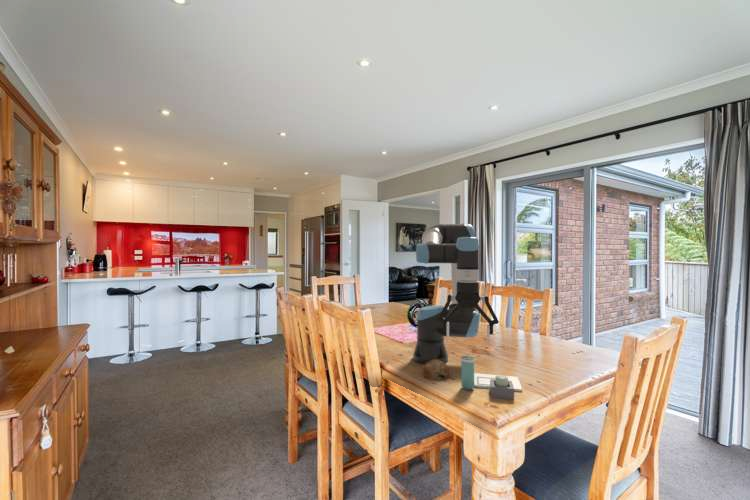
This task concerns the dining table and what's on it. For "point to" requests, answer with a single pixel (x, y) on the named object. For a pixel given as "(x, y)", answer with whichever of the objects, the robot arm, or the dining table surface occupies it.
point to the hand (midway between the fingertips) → (467, 342)
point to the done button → (501, 381)
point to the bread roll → (436, 370)
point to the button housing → (502, 390)
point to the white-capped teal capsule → (467, 372)
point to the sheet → (484, 379)
